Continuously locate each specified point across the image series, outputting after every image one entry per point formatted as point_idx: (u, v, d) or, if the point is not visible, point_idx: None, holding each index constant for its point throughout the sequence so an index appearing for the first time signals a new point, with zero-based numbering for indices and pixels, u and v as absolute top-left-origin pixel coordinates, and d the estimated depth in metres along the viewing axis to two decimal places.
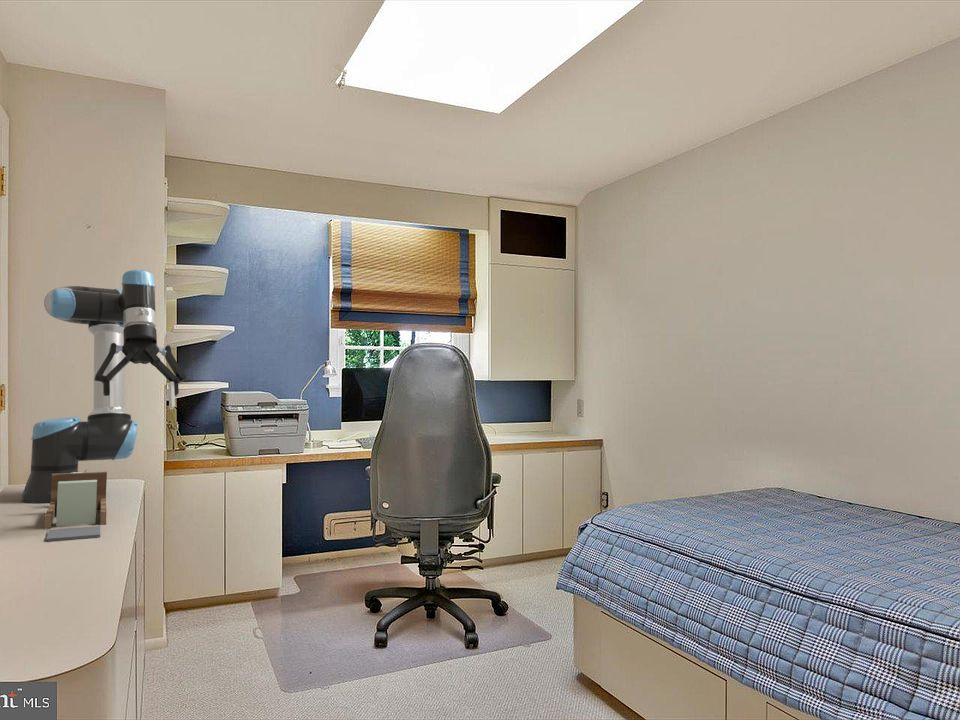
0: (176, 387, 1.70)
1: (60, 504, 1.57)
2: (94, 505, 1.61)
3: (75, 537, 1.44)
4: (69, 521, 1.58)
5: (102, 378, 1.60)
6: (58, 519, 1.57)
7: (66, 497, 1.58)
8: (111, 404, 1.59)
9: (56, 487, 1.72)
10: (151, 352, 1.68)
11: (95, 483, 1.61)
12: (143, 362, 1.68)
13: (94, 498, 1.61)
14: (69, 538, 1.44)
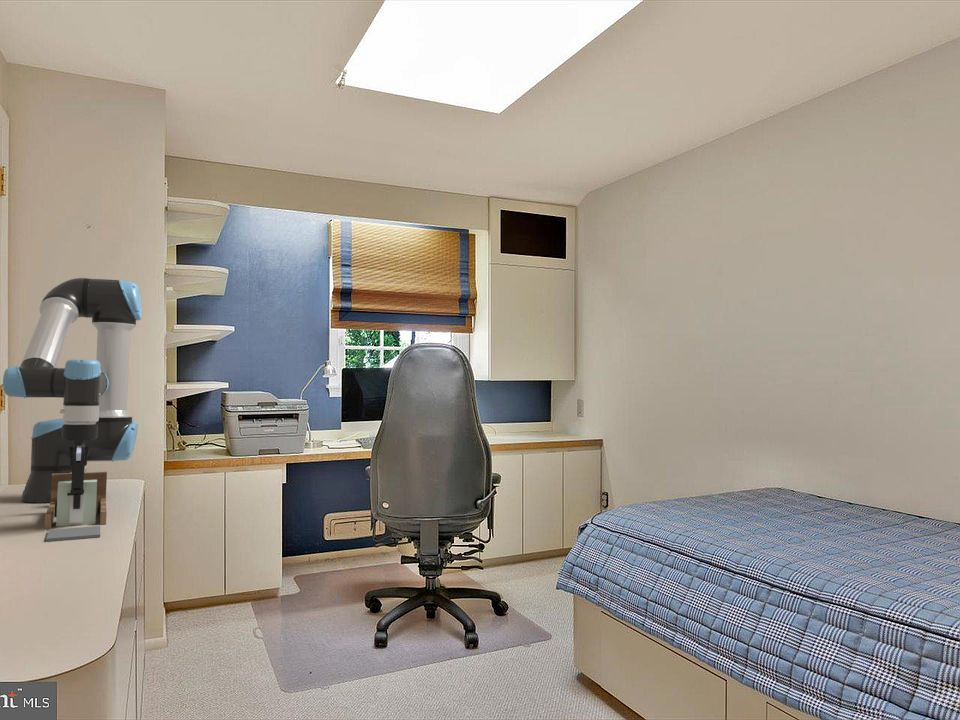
0: (73, 500, 1.57)
1: (60, 503, 1.57)
2: (94, 505, 1.61)
3: (75, 537, 1.44)
4: None
5: None
6: (58, 519, 1.57)
7: (66, 497, 1.58)
8: None
9: (56, 487, 1.72)
10: (70, 454, 1.59)
11: (95, 483, 1.61)
12: None
13: (94, 498, 1.61)
14: (69, 538, 1.44)
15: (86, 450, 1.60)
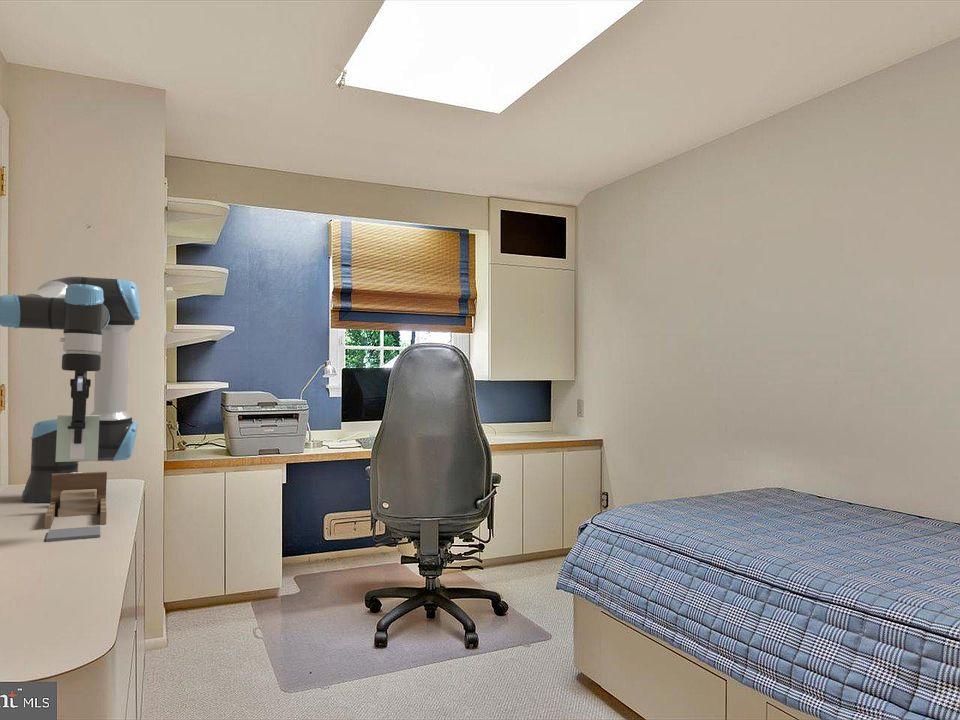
0: (74, 434, 1.46)
1: (60, 438, 1.46)
2: (96, 441, 1.50)
3: (75, 537, 1.44)
4: None
5: None
6: (58, 454, 1.46)
7: (66, 431, 1.47)
8: None
9: (56, 487, 1.72)
10: (70, 385, 1.47)
11: (97, 417, 1.50)
12: None
13: (96, 433, 1.50)
14: (69, 538, 1.44)
15: (88, 382, 1.49)
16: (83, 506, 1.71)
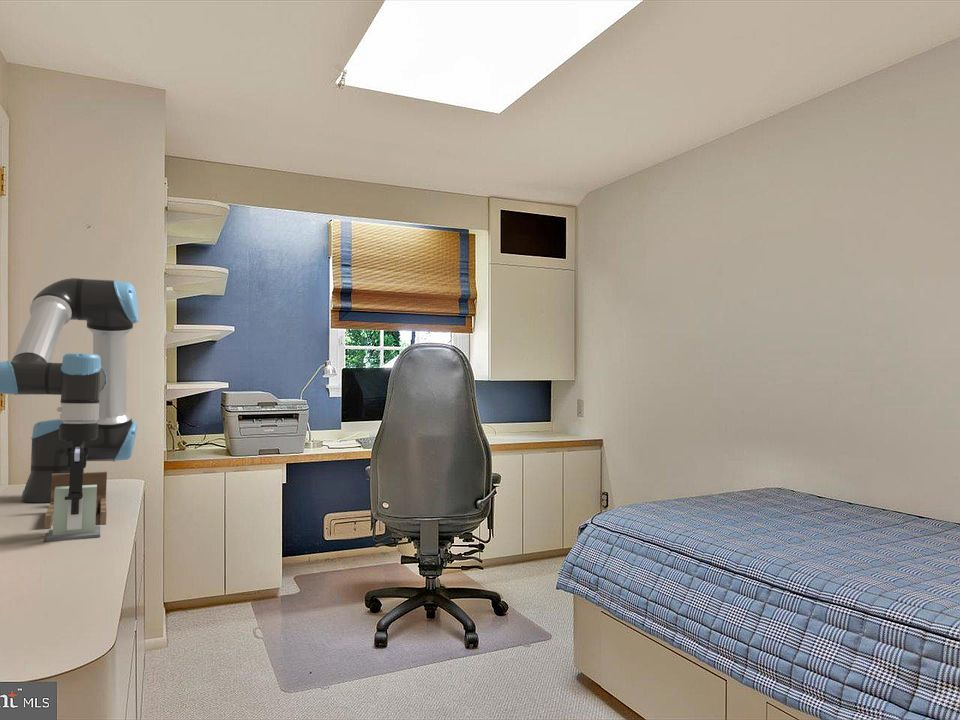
0: (71, 505, 1.44)
1: (57, 511, 1.45)
2: (94, 512, 1.49)
3: (75, 537, 1.44)
4: (67, 530, 1.46)
5: None
6: (55, 527, 1.45)
7: (63, 504, 1.46)
8: None
9: None
10: (68, 455, 1.46)
11: (95, 488, 1.49)
12: None
13: (94, 504, 1.49)
14: (69, 538, 1.44)
15: (85, 451, 1.48)
16: None
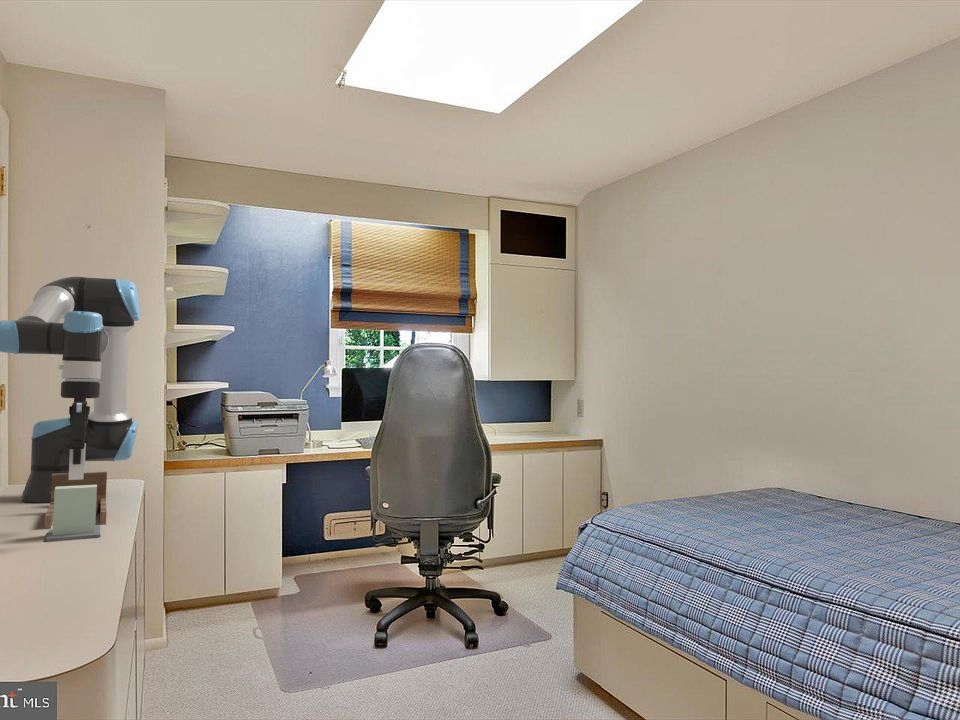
0: (73, 455, 1.42)
1: (57, 511, 1.45)
2: (94, 512, 1.49)
3: (75, 537, 1.44)
4: (67, 530, 1.46)
5: None
6: (55, 527, 1.45)
7: (63, 504, 1.46)
8: None
9: None
10: (69, 412, 1.47)
11: (95, 488, 1.49)
12: None
13: (94, 504, 1.49)
14: (69, 538, 1.44)
15: (87, 409, 1.49)
16: None
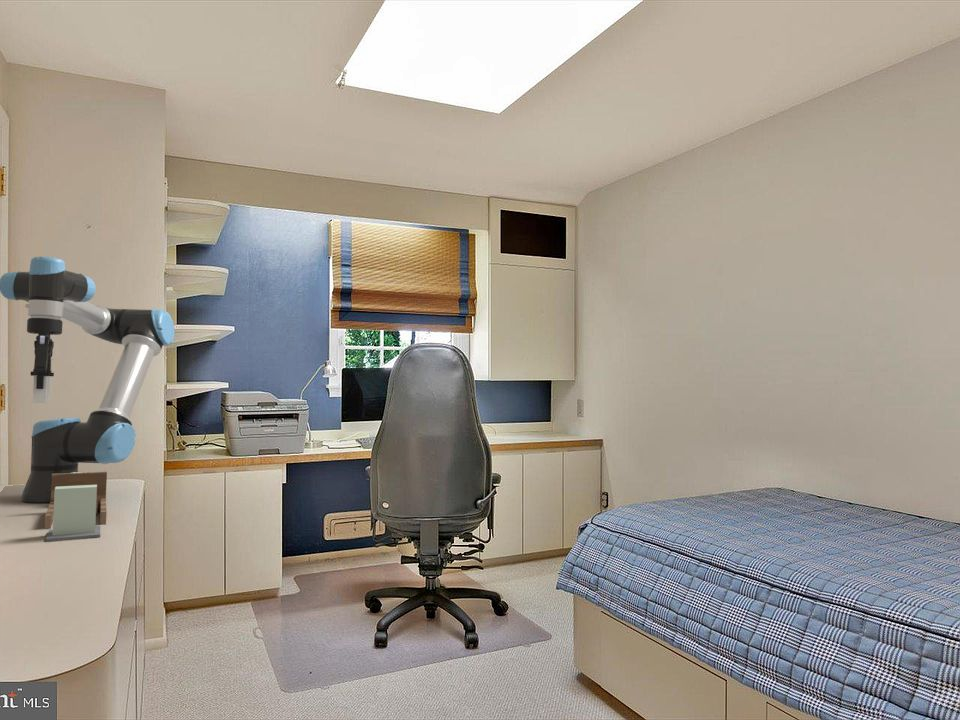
0: (36, 380, 1.62)
1: (57, 511, 1.45)
2: (94, 512, 1.49)
3: (75, 537, 1.44)
4: (67, 530, 1.46)
5: None
6: (55, 527, 1.45)
7: (63, 504, 1.46)
8: None
9: None
10: (34, 345, 1.67)
11: (95, 488, 1.49)
12: None
13: (94, 504, 1.49)
14: (69, 538, 1.44)
15: (50, 343, 1.68)
16: None
